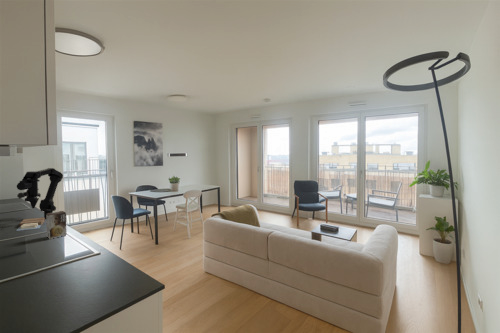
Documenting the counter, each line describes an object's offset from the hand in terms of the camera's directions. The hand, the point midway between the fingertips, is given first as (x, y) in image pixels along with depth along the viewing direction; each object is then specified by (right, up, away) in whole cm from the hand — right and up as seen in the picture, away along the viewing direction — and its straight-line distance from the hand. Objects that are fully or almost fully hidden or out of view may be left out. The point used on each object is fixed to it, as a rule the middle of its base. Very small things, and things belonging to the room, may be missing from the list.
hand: (33, 208), depth 181 cm
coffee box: (+38, -15, -24) cm, 47 cm away
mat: (+6, -13, -10) cm, 17 cm away
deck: (+1, -12, -1) cm, 12 cm away
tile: (+6, -12, -10) cm, 17 cm away
